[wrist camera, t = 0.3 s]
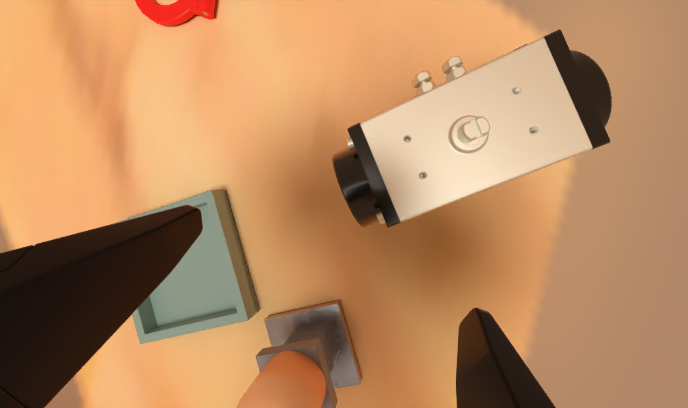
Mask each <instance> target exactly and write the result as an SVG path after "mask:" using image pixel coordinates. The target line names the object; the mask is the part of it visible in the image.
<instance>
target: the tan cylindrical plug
mask: <svg viewBox="0 0 688 408" xmlns="http://www.w3.org/2000/svg"><path fill="white" fill-rule="evenodd" d="M256 360H257V363H258V367H259V370H260V374H259V375H258V376H257V378H256V379H255V380H254V382H253V383H252V384H251V386H250V387H249V388H248V390H247V391H246V392H245V394H244V395H243V396H242V398H241V399H240V401H239V403H238V405H237V408H335V407H336V404H337V397H336V394H335V391H334V387H333V384H332V380H331V377H330V373H329V370H328V366H327V363H326V359H325V356H324V352H323V349H322V345H321V342H320V338H315V339H310V340H305V341H300V342H295V343H290V344H285V345H280V346H275V347H270V348H265V349H262V350H261V351H260V352H259V353H258V355H257V356H256Z"/></svg>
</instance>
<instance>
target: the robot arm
mask: <svg viewBox="0 0 688 408" xmlns="http://www.w3.org/2000/svg"><path fill="white" fill-rule="evenodd" d="M202 230H203V223H202V215H201V210H200V209H199V208H197V207H194V206H191V205H183V206H179V207H176V208H172V209H168V210H164V211H160V212H156V213H153V214H149V215H145V216H141V217H137V218H134V219H130V220H126V221H122V222H118V223H115V224H111V225H107V226H103V227H99V228H96V229H92V230H88V231H84V232H80V233H76V234H73V235H69V236H65V237H61V238H57V239H54V240H50V241H46V242H42V243H38V244H36V245H35V246H33V245H30V246H27V247H23V248H19V249H15V250H12V251H8V252H4V253H0V408H44V407H45V406H46V405H47V404H48V403H49V402H50V401H51V400H52V399H53V398H54V397H55V396H56V395H57V394H58V392H60V390H61V389H62V388H63V387H64V386H65V385H66V384H67V383H68V382H69V381H70V380H71V379H72V378H73V377H74V375H75V374H76V373H77V372H78V371H79V370H80V369H81V368H82V367H83V366H84V365H85V364H86V363H87V362H88V361H89V359H90V358H91V357H92V356H93V355H94V354H95V353H96V352H97V351H98V350H99V349H100V348H101V347H102V346H103V345H104V343H105V342H106V341H107V340H108V339H109V338H110V337H111V336H112V335H113V334H114V333H115V332H116V331H117V330H118V329H119V327H120V326H121V325H122V324H123V323H124V322H125V321H126V320H127V319H128V318H129V317H130V316H131V315H132V314H133V313H134V311H135V310H136V309H137V308H138V307H139V306H140V305H141V304H142V303H143V302H144V301H145V300H146V299H147V298H148V297H149V295H150V294H151V293H152V292H153V291H154V290H155V289H156V288H157V287H158V286H159V285H160V284H161V283H162V282H163V281H164V279H165V278H166V277H167V276H168V275H169V274H170V273H171V272H172V271H173V269H174V268H175V267H176V266H177V264H178V263H179V262H180V260H181V259H182V258H183V256H184V255H185V254H186V253H187V251H188V250H189V249H190V247H191V246H192V245H193V243H194V242H195V241H196V240H197V238H198V237H199V236H200V234H201V232H202ZM456 394H457V408H556V407H555V406H554V405H553V403H552V402H551V400H550V399H549V397H548V396H547V394H546V393H545V391H544V390H543V389H542V387H541V386H540V384H539V383H538V381H537V380H536V379H535V377H534V376H533V374H532V373H531V371H530V370H529V368H528V367H527V366H526V364H525V363H524V361H523V360H522V358H521V357H520V356H519V354H518V353H517V351H516V350H515V348H514V347H513V345H512V344H511V343H510V341H509V340H508V338H507V337H506V335H505V334H504V333H503V331H502V330H501V328H500V327H499V325H498V324H497V322H496V321H495V320H494V318H493V317H492V315H491V314H490V313H489V312H487V311H484V310H482V309H479V308H473V309H472V310H471V311H470V312H469V313H468V314H467V316H466V317H465V318H464V319H463V320H462V322H461V323H460V326H459V335H458V353H457V370H456Z"/></svg>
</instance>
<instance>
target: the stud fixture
mask: <svg viewBox="0 0 688 408" xmlns="http://www.w3.org/2000/svg"><path fill="white" fill-rule="evenodd" d="M265 324H266V328H267V331H268V335H269V338H270V342H271V345H272V347H275V346H280V345H285V344H290V343H295V342H300V341H305V340H310V339H315V338H320V342H321V345H322V349H323V352H324V356H325V359H326V363H327V366H328V370H329V373H330V377H331V380H332V384H333V387H334V388H339V387H345V386H352V385H358V384H361V379H362V377H361V373H360V370H359V366H358V363H357V359H356V356H355V352H354V349H353V345H352V342H351V339H350V335H349V332H348V328H347V325H346V321H345V318H344V314H343V311H342V307H341V304H340V300H338V301H333V302H329V303H324V304H320V305H315V306H311V307H306V308H302V309H297V310H293V311H288V312H284V313H279V314H275V315H270V316H268V317H267V318H266V319H265Z"/></svg>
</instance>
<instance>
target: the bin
mask: <svg viewBox="0 0 688 408" xmlns="http://www.w3.org/2000/svg"><path fill="white" fill-rule="evenodd" d="M183 205H191V206H194V207H197V208H199V209H200V210H201V215H202V223H203V230H202V232H201V234H200V236H199V237H198V238H197V240H196V241H195V242H194V243H193V245H192V246H191V247H190V249H189V250H188V251H187V253H186V254H185V255H184V256H183V258H182V259H181V260H180V262H179V263H178V264H177V266H176V267H175V268H174V269H173V271H172V272H171V273H170V274H169V275H168V276H167V277H166V278H165V279H164V281H163V282H162V283H161V284H160V285H159V286H158V287H157V288H156V289H155V290H154V291H153V292H152V293H151V294H150V295H149V297H148V298H147V299H146V300H145V301H144V302H143V303H142V304H141V305H140V306H139V307H138V308H137V309H136V310H135V311H134V313H133V314H132V316H133V320H134V323H135V327H136V331H137V334H138V338H139V342H140V344H143V343H148V342H152V341H157V340H161V339H166V338H170V337H175V336H179V335H184V334H188V333H193V332H197V331H202V330H206V329H211V328H215V327H220V326H224V325H229V324H233V323H238V322H242V321H247V320H249V319H250V318H251V317H252V316H254V315H255V314H256V313H257V312H258V311H259V310H260V309H259V306H258V302H257V299H256V295H255V292H254V288H253V284H252V281H251V277H250V274H249V270H248V267H247V263H246V260H245V256H244V253H243V249H242V246H241V242H240V239H239V235H238V231H237V228H236V224H235V221H234V217H233V214H232V210H231V207H230V203H229V200H228V196H227V193H226V191H214V190H211V191H208V192H205V193H203V194H200V195H197V196H194V197H191V198H188V199H185V200H182V201H179V202H176V203H173V204H170V205H167V206H164V207H161V208H158V209H155V210H152V211H149V212H146V213H143V214H140V215H137V216H134V217H131V218H128V219H125V220H122V221H126V220H130V219H134V218H137V217H141V216H145V215H149V214H153V213H156V212H160V211H164V210H168V209H172V208H176V207H179V206H183ZM122 221H120V222H122ZM117 223H118V222H117ZM114 224H115V223H114Z"/></svg>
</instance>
